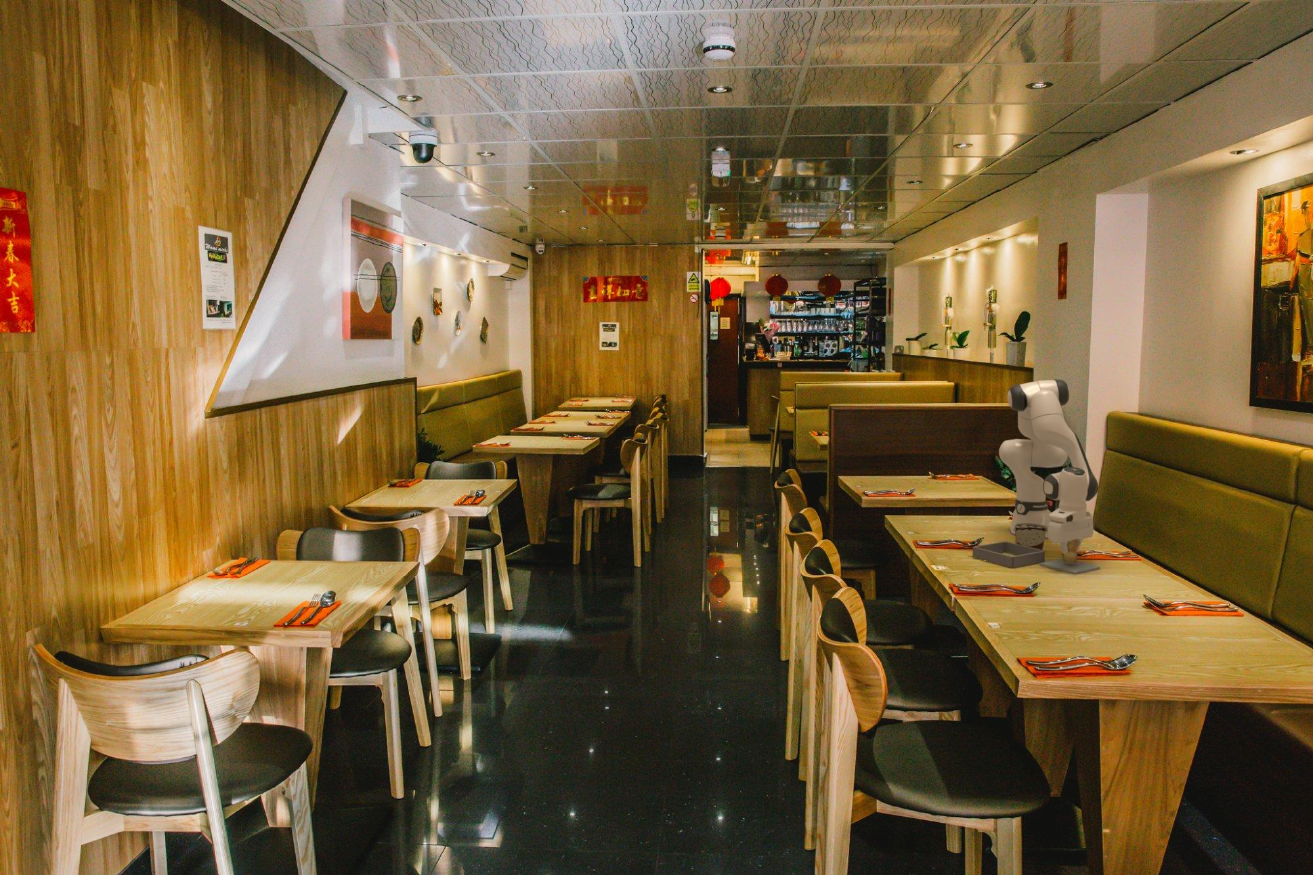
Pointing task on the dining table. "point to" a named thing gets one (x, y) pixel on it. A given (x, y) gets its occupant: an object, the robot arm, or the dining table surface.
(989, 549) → the frame
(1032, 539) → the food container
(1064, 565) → the mat
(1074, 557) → the peg
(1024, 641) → the dining table surface
